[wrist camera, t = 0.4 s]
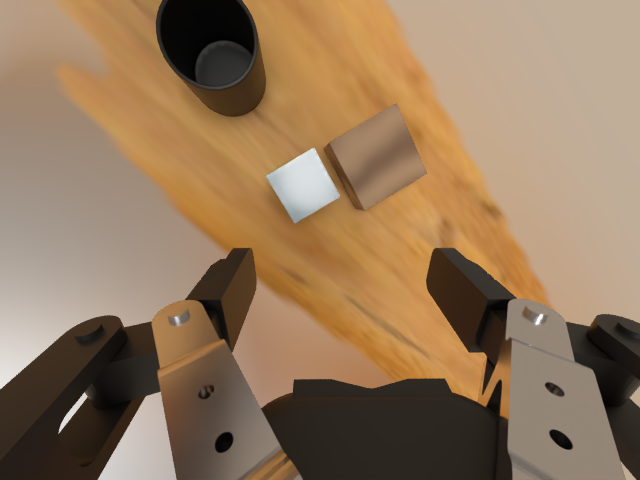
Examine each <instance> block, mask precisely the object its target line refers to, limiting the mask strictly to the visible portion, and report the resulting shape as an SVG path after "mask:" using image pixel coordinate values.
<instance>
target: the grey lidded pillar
mask: <svg viewBox="0 0 640 480" xmlns="http://www.w3.org/2000/svg"><path fill="white" fill-rule="evenodd" d="M266 178H267V179H268V181H269V182H270V184H271V186H272V187H273V189H274V191H275V192H276V194H277V196H278V197H279V199H280V201H281V202H282V204H283V205H284V207H285V209H286V210H287V212H288V214H289V215H290V217H291V219H292V220H293V222H294V223H297V222H299V221H300V220H302V219H304V218H305V217H307V216H309V215H311V214H312V213H314V212H316V211H317V210H319V209H321V208H322V207H324V206H326V205H327V204H329V203H331V202H332V201H334V200H336V199H337V198H339V197H340V195H339V193H338V191H337V189H336V188H335V186H334V184H333V182H332V180H331V178H330V176H329V175H328V173H327V171H326V169H325V167H324V165H323V164H322V162H321V160H320V158H319V156H318V154H317V152H316V151H315V149H314V148H312V149H310V150H309V151H307V152H305V153H304V154H302V155H300V156H299V157H297V158H295V159H294V160H292V161H290V162H288V163H287V164H285V165H283V166H282V167H280V168H278V169H277V170H275V171H273V172H271V173H270V174H268V175H266Z"/></svg>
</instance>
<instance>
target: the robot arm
mask: <svg viewBox="0 0 640 480" xmlns="http://www.w3.org/2000/svg"><path fill="white" fill-rule="evenodd" d="M256 283H257V281H256V272H255V264H254V256H253V251H252V249H251V248H233V249H232V251H231V252H230V253H229V255H228V256H227V258H226V259H220V260H219V261H217V262H216V263H214V264H213V265H211V266H210V268H209V269H208V271H207V272H206V274H204V276H203V277H202V278H201V280H200V281H199V282H198V283H197V285H196V286H195V287H194V289H193V290H192V291H191V293H190V294H189V295H188V297H187V298H186V299H185V300H184V301H178V302H175V303H173V304H170V305H168V306H166V307H165V308H163V309H161V310H160V311H159V312H158V313H157V314H156V315H155V316H154V318H153V320H152V321H151V322H147V323H142V324H139V325H133V326H129V327H124V326H123V324H122V322H121V320H120V318H118V317H116V316H110V315H109V316H101V317H96V318H93V319H90V320H87V321H85V322H82V323H80V324H78V325H76V326H75V327H73V328H72V329H70V330H69V331H67V332H66V333H65V334H63V335H62V336H61V337H60V338H59V339H58V340H56V341H55V342H54V343H53V344H52V345H51V346H50V347H48V348H47V349H46V350H45V351H44V352H43V353H42V354H40V356H38V357H37V358H36V359H35V360H34V361H32V362H31V363H30V364H29V365H28V366H27V367H26V368H24V369H23V370H22V371H21V372H20V373H19V374H18V375H16V377H14V378H13V379H12V380H11V381H10V382H9V383H7V384H6V385H5V386H4V387H3V388H2V389H0V480H98V478H99V476H100V474H101V473H102V471H103V469H104V468H105V466H106V464H107V462H108V461H109V459H110V457H111V455H112V454H113V452H114V450H115V448H116V447H117V445H118V443H119V442H120V440H121V438H122V436H123V435H124V433H125V431H126V429H127V428H128V426H129V424H130V422H131V421H132V419H133V417H134V416H135V414H136V412H137V410H138V408H139V407H140V405H141V403H142V402H143V400H144V398H145V396H147V395H151V394H154V393H157V392H161V395H162V401H163V407H164V412H165V418H166V423H167V429H168V434H169V440H170V445H171V451H172V456H173V461H174V467H175V473H176V478H177V480H626V478H625V475H624V472H623V469H622V465H621V462H622V463H623V464H624V466H625V467H626V468H627V469H628V470H629V471H630V473H632V475H633V476H634V477H635V478H636V480H640V408H639V407H638V406H637V405H636V404H635V403H634V402H633V401H632V400H631V399H630V397H631V396H632V394H633V393H634V392H635V391H636V390H637V388H638V387H639V386H640V323H638V322H635V321H633V320H630V319H627V318H623V317H619V316H616V315H609V314H601V315H598V316H596V318H595V319H594V321H593V322H592V324H591V326H584V325H579V324H574V323H569V322H565V320H564V318H563V317H562V316H561V315H560V314H559V313H557V312H556V311H554V310H553V309H551V308H549V307H547V306H545V305H543V304H541V303H538V302H535V301H532V300H527V299H517V298H516V297H515V296H514V295H513V294H512V293H510V292H509V291H508V290H507V289H506V288H505V287H503V286H502V285H501V284H500V283H499V282H498V281H497V280H494V278H493V277H492V276H491V275H490V274H487V272H486V271H485V270H484V269H483V268H481V267H480V266H479V265H478V264H476V263H474V262H472V261H470V260H468V259H466V258H465V257H464V256H463V255H462V254H461V253H459V252H458V251H457V250H456V249H455V248H435V249H434V250H433V252H432V256H431V260H430V265H429V269H428V274H427V279H426V284H427V289H428V292H429V293H430V295H431V296H432V298H433V299H434V301H435V302H436V304H437V305H438V307H439V308H440V310H441V311H442V313H443V314H444V316H445V317H446V319H447V320H448V322H449V323H450V325H451V326H452V328H453V329H454V331H455V332H456V334H457V335H458V337H459V338H460V340H461V341H462V343H463V344H464V346H465V347H466V349H467V350H468V352H484V353H485V354H486V358H485V361H484V364H483V370H482V376H481V383H480V389H479V395H478V402H476V401H473V400H471V399H469V398H467V397H464V396H461V395H459V394H456V393H452V392H451V390H450V388H449V386H448V384H447V382H446V380H445V379H406V380H402V381H399V382H395V383H392V384H388V385H385V386H381V387H377V388H373V389H370V388H364V387H361V386H357V385H353V384H348V383H344V382H340V381H336V380H332V379H308V380H307V379H304V380H303V379H301V380H294V385H293V393H289V394H286V395H284V396H281V397H279V398H277V399H275V400H273V401H271V402H269V403H268V404H266V405H265V406H264V407H262V408H260V406H259V404H258V402H257V400H256V398H255V397H254V395H253V393H252V391H251V389H250V387H249V385H248V383H247V381H246V379H245V378H244V376H243V374H242V372H241V370H240V368H239V366H238V364H237V362H236V360H235V358H234V356H233V355H232V352H233V349H234V347H235V344H236V341H237V339H238V336H239V334H240V331H241V328H242V326H243V323H244V320H245V318H246V315H247V312H248V310H249V307H250V305H251V302H252V299H253V296H254V294H255V291H256ZM84 392H85V393H86V395H87V396H88V397H87V399H86V400H85V401H84V403H83V404H82V405H81V406H80V408H79V409H78V410H77V411H76V413H75V414H74V415H73V416H72V418H71V419H70V420H69V422H68V423H67V424H66V425H65V427H64V428H63V429H62V430H61V432H60V433H59V434H58V432H59V428H60V425H61V423H62V421H63V419H64V417H65V416H66V414H67V413H68V412H69V410H70V409H71V408H72V407H73V405H74V404H75V403H76V402H77V401H78V399H79V398H80V397H81V396H82V394H83V393H84ZM620 461H621V462H620Z"/></svg>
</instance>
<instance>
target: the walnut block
mask: <svg viewBox="0 0 640 480" xmlns="http://www.w3.org/2000/svg"><path fill="white" fill-rule="evenodd" d="M324 150H325V152H326V154H327V156H328V158H329V159H330V161H331V163H332V165H333V167H334V169H335V171H336V173H337V174H338V176H339V178H340V180H341V182H342V184H343V186H344V188H345V189H346V191H347V193H348V195H349V197H350V199H351V201H352V203H353V205H354V206H355V208H356V209H360V210H364V211H365V210H367V209H369V208H370V207H372V206H374V205H375V204H377V203H379V202H380V201H382V200H384V199H385V198H387V197H389V196H390V195H392V194H394V193H395V192H397V191H399V190H400V189H402V188H404V187H405V186H407V185H409V184H410V183H412V182H414V181H416V180H417V179H419V178H421V177H422V176H424V175H426V174H427V172H426V169H425V167H424V165H423V163H422V160H421V158H420V156H419V153H418V151H417V149H416V147H415V144H414V142H413V140H412V137H411V135H410V133H409V131H408V128H407V126H406V124H405V121H404V119H403V117H402V114H401V112H400V110H399V108H398V105H397V103H396V104H394V105H392V106H391V107H389V108H387V109H386V110H384V111H382V112H380V113H379V114H377V115H375V116H374V117H372V118H370V119H369V120H367V121H365V122H364V123H362V124H360V125H359V126H357V127H355V128H353V129H352V130H350V131H348V132H347V133H345V134H343V135H342V136H340V137H338V138H337V139H335V140H333V141H331V142H330V143H329V144H328V145H327V146H326V147H325V148H324Z"/></svg>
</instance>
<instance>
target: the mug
mask: <svg viewBox="0 0 640 480" xmlns="http://www.w3.org/2000/svg"><path fill="white" fill-rule="evenodd" d="M156 33H157V39H158V43H159V46H160V49H161V52H162V54H163V56H164V58H165V60H166V61H167V63H168V64H169V66H170V67H171V68H172V69H173V71H174V72H175V73H176V74H177V75H178V76H179V77H180V78H181V79H182V80H183V81H184V83H185V84H186V85H187V86H188V87H189V88H190V89H191V90H192V91H193V92H194V93H195V94H196V95H197V96H198V97H199V99H200V100H201V101H202V102H203V103H204V104H205V105H206V106H208V107H209V108H210V109H212V110H213V111H215V112H217V113H220V114H223V115H227V116H238V115H242V114H245V113H248V112H249V111H251V110H252V109H253V108H255V107H256V106H257V104H258V103H259V102H260V100H261V98H262V96H263V94H264V90H265V83H266V78H265V71H264V65H263V60H262V54H261V49H260V44H259V38H258V33H257V29H256V25H255V22H254V20H253V17H252V15H251V13H250V12H249V10H248V8H247V7H246V5H245V4H244V3H243V1H242V0H162V2H161V4H160V6H159V10H158V13H157V19H156Z"/></svg>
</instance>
